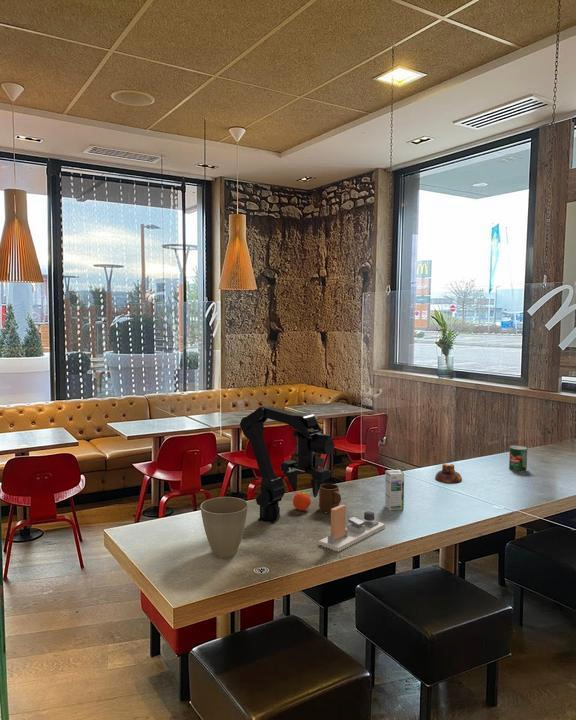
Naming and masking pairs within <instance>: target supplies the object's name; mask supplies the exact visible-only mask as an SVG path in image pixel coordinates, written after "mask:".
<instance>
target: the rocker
mask: <svg viewBox="0 0 576 720" xmlns="http://www.w3.org/2000/svg"><path fill="white" fill-rule="evenodd" d="M347 521H348V523H352V525H353V526H354V525H355V526H357V527H360V526H362V525H364V522H363V521H362V520H361V519H359V518H357V517H356V516H353V517H350V518H348V520H347Z"/></svg>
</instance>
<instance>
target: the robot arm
mask: <svg viewBox="0 0 576 720" xmlns="http://www.w3.org/2000/svg"><path fill="white" fill-rule="evenodd" d="M268 419H269V420H272V421H276V422H278V423H282V424H285V425H288V426H290V427H291V428H292V429H293V430H294V432H293V433H292V434H291V436H292V437H295V438H296V452H295V453H294V457H296V460H293V459H290V460H285V461H283V462H281V464H280V471H281V472H282V473H283V474H284V475H285V477H286V479H287V480H288V482H289V484H290V486H291V488H292V491H293V492H297V491H298V490H297V489H298V475H299V473H300V472H301V473H304V474H308V475H311V478H312V479H310V482H311V483H310V484H311V489H312V497H313V498H317V496H318V495H319V489H320V486H321V485H322V484H323V483H324V481H326V480H328V479H330V478H331V477H332V472H331V470H330V469H328V468H324V464H325V460H326V459H325V458H323V457H318V456H317V454H320V455H321V454H322V455H327V456H331V455H332V454H333V452H334V450H335V443H334V439H333V438H332V435H331V434H329V433H326V434H325V433H324V432H323V430H322V428H321V427H320V425H319V422H318V421H317V419H316V416H315V414H313V413H309V412H291V411H289V410H285V409H282V408H277V407H275V406H274V407H273V406H271V405H269V404H266V405H261V406H259V407H258V408H257V409H255V410H254V411H253V412H251V413H250V414H248V415H246V416H244V417H242V418H241V420H240V422H239V425H240V429H241V432H242V434H243V435H244V436H245V438H246V439H247V440H249V442H250V446H251V448H252V451H253V454H254V455H253V456H254V459H255V461H256V464H257V467H258V471H259V474H260V477H261V482H260V494H259V495H258V496H257V497H256V498H255V502H256V505H258V506H259V517H258V519H257V521H259V522H263V523H264V522H265V523H272V524H274V523H275V522H277V521H278V520H279V519H280V518H281V514H280V513H281V512H280V511H281V510H280V509H281V508H280V505H279V502H281V501H282V498H283V497H284V495H285V493H286V486H285V484H284V480H283V477H278V476H277V475H276V474H275V471H274V468H273V465H272V462H271V459H270V456H269V452H268V449H267V445H266V443H265V440H264V432H265V426H264V424H265V423H266V422H267V421H268ZM318 467H320V468H318Z"/></svg>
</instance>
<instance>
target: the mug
mask: <svg viewBox="0 0 576 720" xmlns="http://www.w3.org/2000/svg"><path fill="white" fill-rule="evenodd" d="M318 500H319V502H318V504H319V507H318V508H319V511H320V512H321V511H322V512H321V513H324V512H327V513H326V514H331V509H332V508H335V507H337V506H339V505H340V504H341V502H342V496H341V493H340V486H339V485H337V484H335V483H322V484H321V486H320V489H319V491H318Z"/></svg>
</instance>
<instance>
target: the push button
mask: <svg viewBox="0 0 576 720" xmlns="http://www.w3.org/2000/svg"><path fill="white" fill-rule="evenodd" d="M364 519H365V520H368V521H372V520H374V521H375V512H373V511H368V510H367V511H364V513H363V520H364Z"/></svg>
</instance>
